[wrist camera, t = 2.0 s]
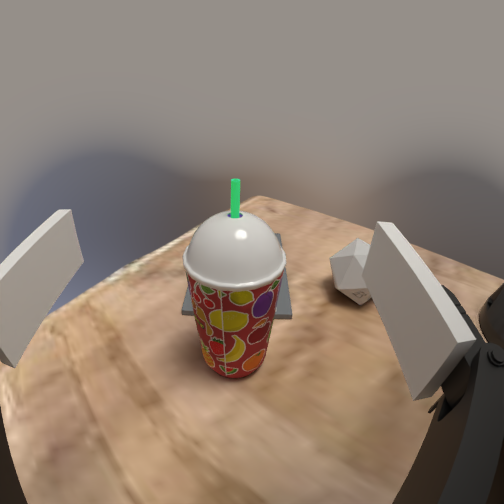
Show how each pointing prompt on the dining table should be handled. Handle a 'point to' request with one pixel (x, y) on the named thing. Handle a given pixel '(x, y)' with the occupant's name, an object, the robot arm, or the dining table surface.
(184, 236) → the dining table surface
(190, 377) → the dining table surface
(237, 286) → the smoothie
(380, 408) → the dining table surface
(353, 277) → the die
